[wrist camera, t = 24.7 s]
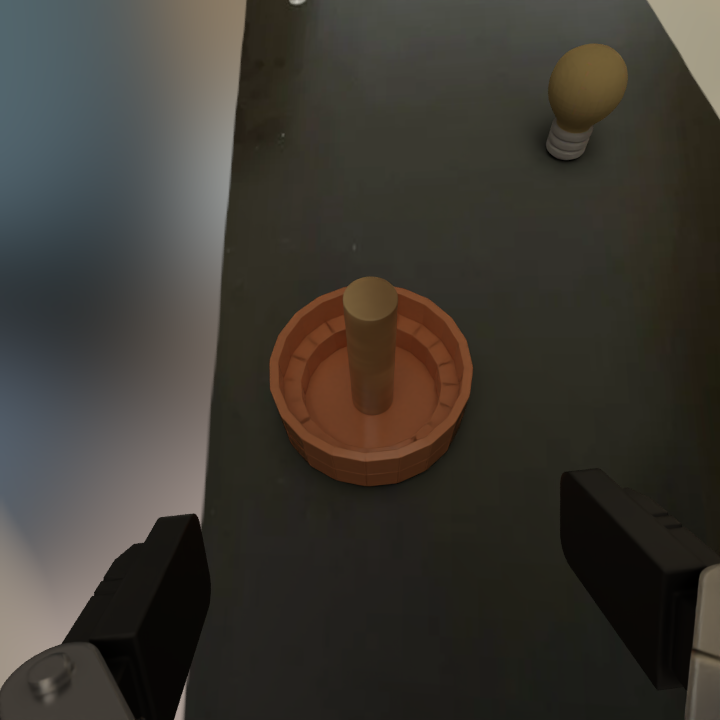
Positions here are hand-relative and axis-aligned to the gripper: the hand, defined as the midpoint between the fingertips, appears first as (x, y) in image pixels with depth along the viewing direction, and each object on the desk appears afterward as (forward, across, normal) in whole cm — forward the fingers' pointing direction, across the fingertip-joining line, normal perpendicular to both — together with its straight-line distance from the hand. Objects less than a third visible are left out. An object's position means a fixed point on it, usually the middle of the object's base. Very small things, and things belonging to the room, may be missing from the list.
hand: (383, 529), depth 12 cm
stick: (+27, -1, +6) cm, 28 cm away
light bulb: (+45, -23, -11) cm, 52 cm away
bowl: (+27, -1, +6) cm, 28 cm away
